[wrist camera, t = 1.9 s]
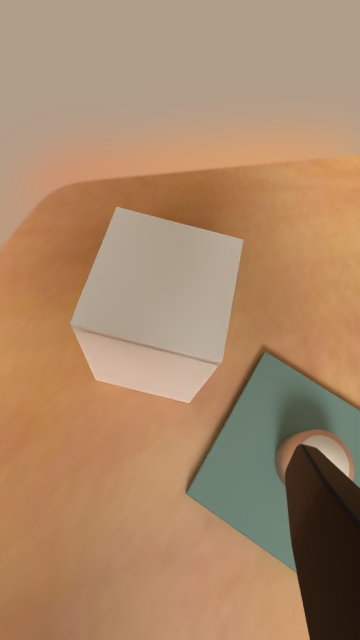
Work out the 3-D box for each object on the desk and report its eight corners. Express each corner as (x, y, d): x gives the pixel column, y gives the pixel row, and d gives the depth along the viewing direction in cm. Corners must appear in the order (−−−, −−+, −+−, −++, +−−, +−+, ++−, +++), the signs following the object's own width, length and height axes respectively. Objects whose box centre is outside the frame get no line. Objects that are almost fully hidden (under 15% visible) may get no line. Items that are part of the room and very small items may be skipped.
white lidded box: (188, 403, 21) (222, 361, 13) (95, 380, 21) (69, 322, 13) (206, 319, 23) (243, 239, 15) (123, 298, 23) (116, 206, 15)
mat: (344, 606, 18) (351, 611, 17) (185, 493, 19) (187, 493, 18) (396, 438, 22) (403, 438, 21) (262, 354, 23) (265, 351, 22)
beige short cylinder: (302, 510, 19) (325, 515, 16) (263, 457, 20) (279, 455, 17) (341, 470, 20) (367, 470, 18) (302, 422, 21) (322, 416, 18)
